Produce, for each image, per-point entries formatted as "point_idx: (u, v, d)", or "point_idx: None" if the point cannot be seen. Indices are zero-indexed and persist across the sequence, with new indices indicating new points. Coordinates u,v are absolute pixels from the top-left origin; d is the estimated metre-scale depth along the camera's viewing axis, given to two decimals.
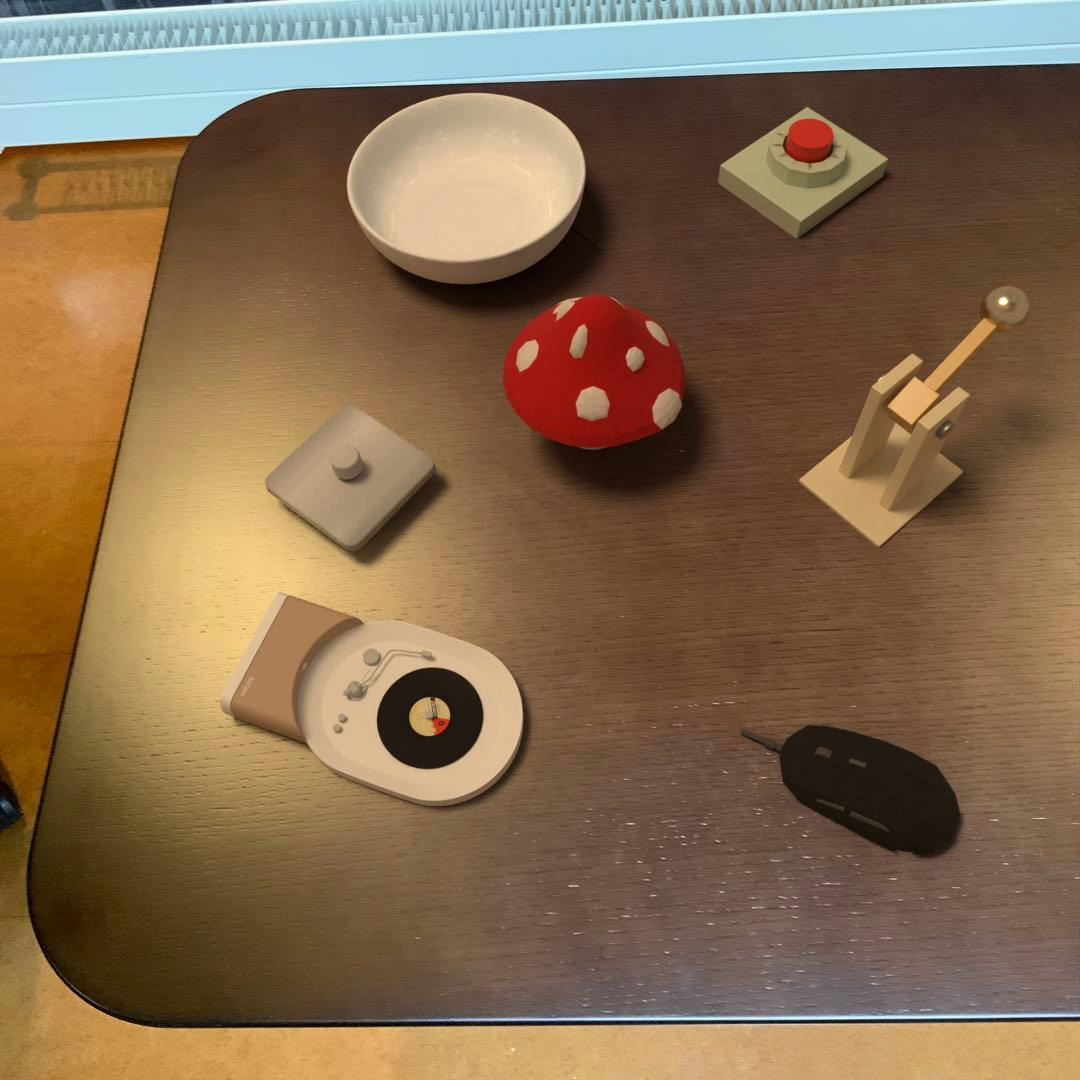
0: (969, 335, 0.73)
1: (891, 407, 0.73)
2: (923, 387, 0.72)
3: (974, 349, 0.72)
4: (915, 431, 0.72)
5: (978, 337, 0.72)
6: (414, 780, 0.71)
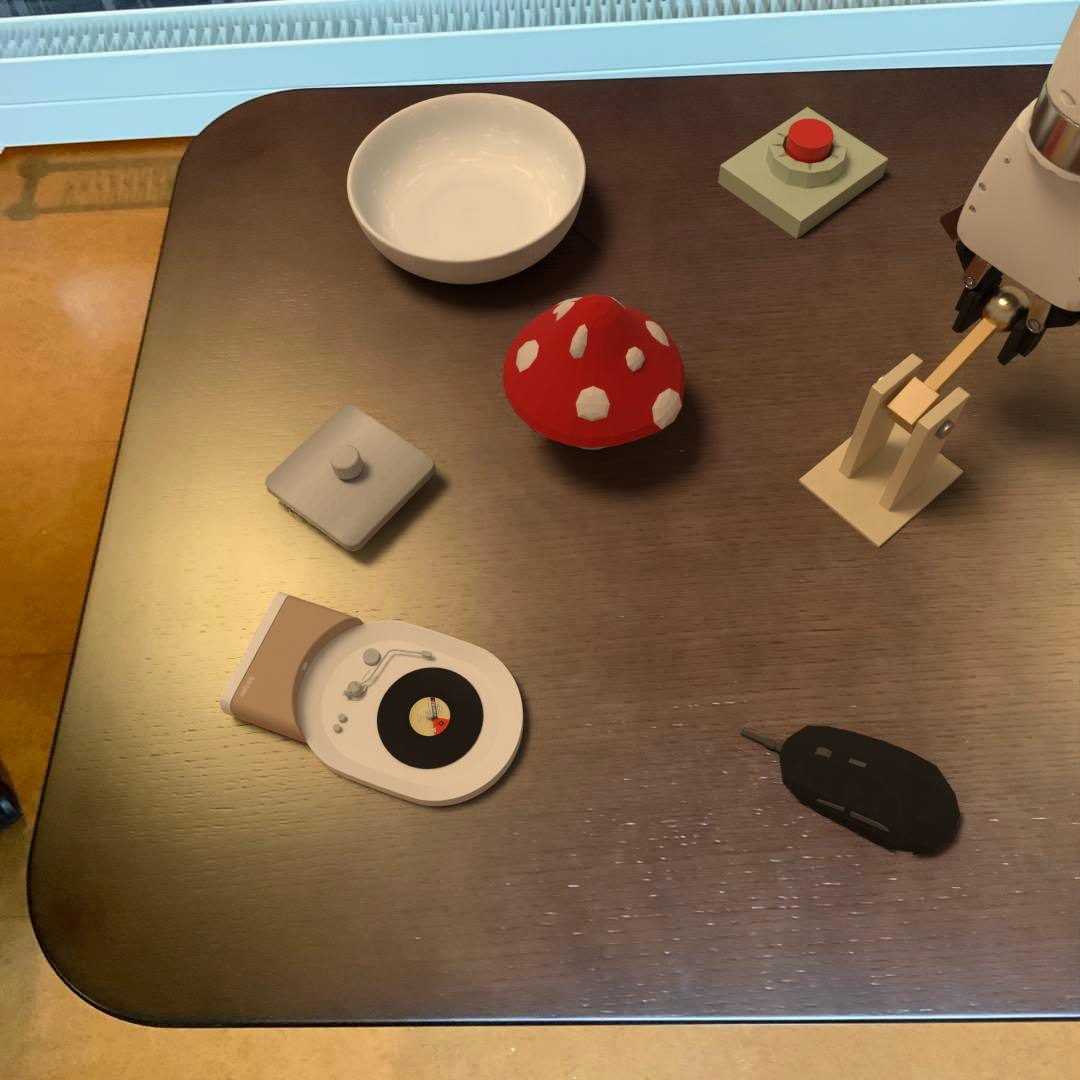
0: (969, 335, 0.73)
1: (891, 407, 0.73)
2: (923, 387, 0.72)
3: (974, 349, 0.72)
4: (915, 431, 0.72)
5: (978, 337, 0.72)
6: (414, 780, 0.71)
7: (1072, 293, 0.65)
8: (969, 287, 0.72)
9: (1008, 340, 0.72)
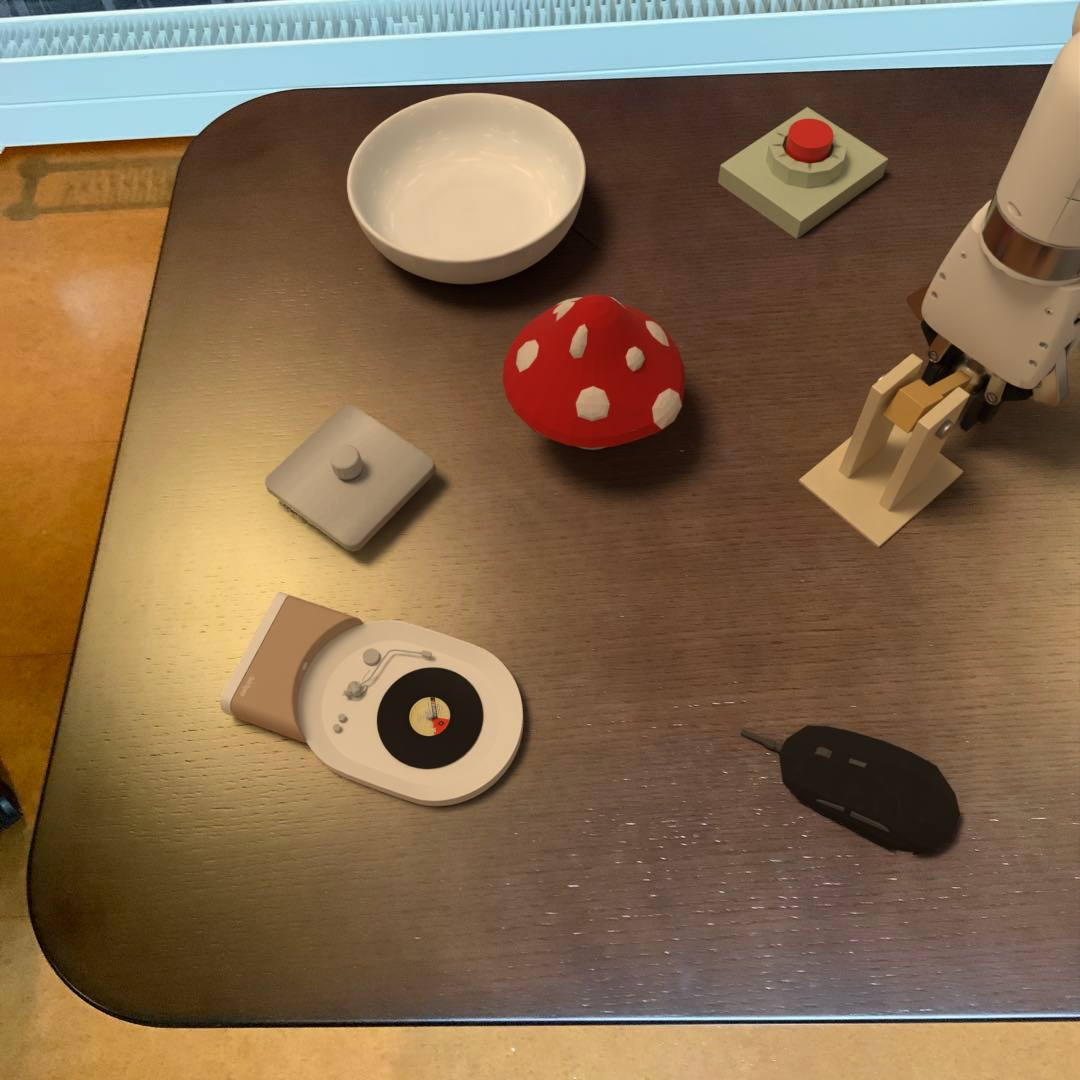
0: (952, 375, 0.77)
1: (904, 390, 0.72)
2: (928, 387, 0.73)
3: (958, 385, 0.76)
4: (915, 431, 0.72)
5: (959, 379, 0.77)
6: (414, 780, 0.71)
7: (1024, 373, 0.72)
8: (933, 361, 0.79)
9: (969, 410, 0.79)
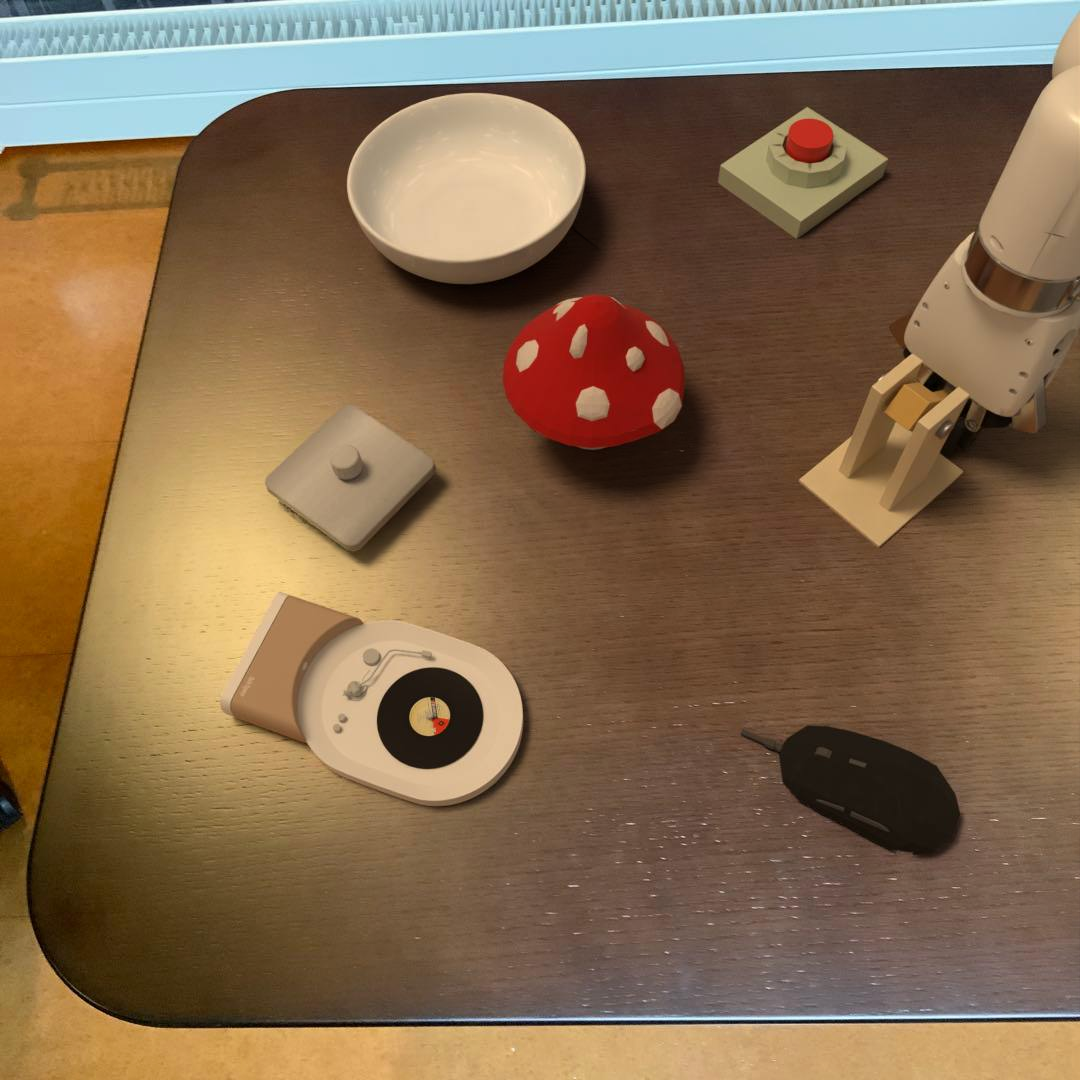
0: (941, 391, 0.78)
1: (908, 386, 0.72)
2: (928, 390, 0.74)
3: None
4: (915, 431, 0.72)
5: None
6: (414, 780, 0.71)
7: (1004, 402, 0.73)
8: None
9: (949, 436, 0.80)
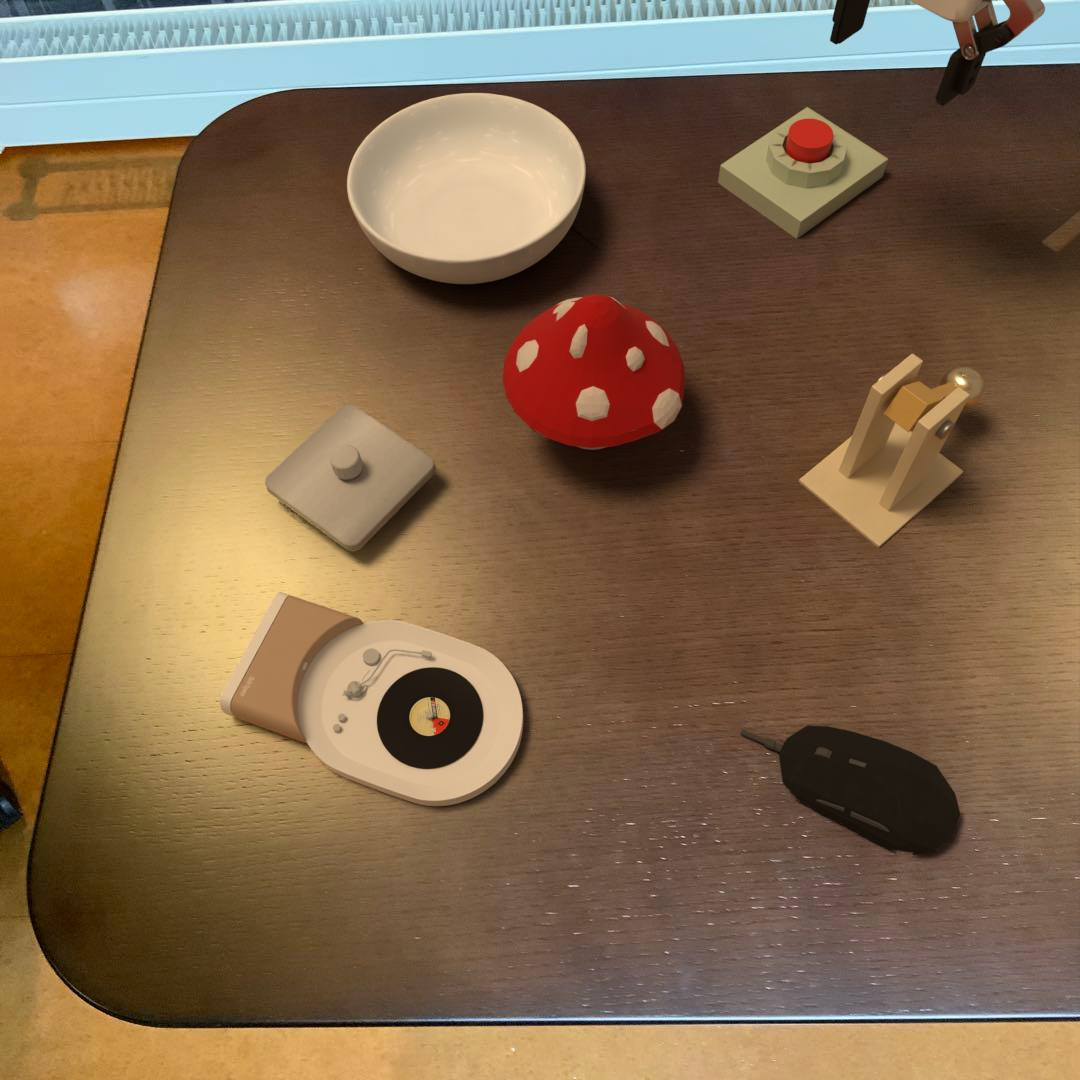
0: (946, 384, 0.78)
1: (906, 388, 0.72)
2: (928, 389, 0.74)
3: None
4: (915, 431, 0.72)
5: (953, 388, 0.78)
6: (414, 780, 0.71)
7: None
8: None
9: (945, 74, 0.74)
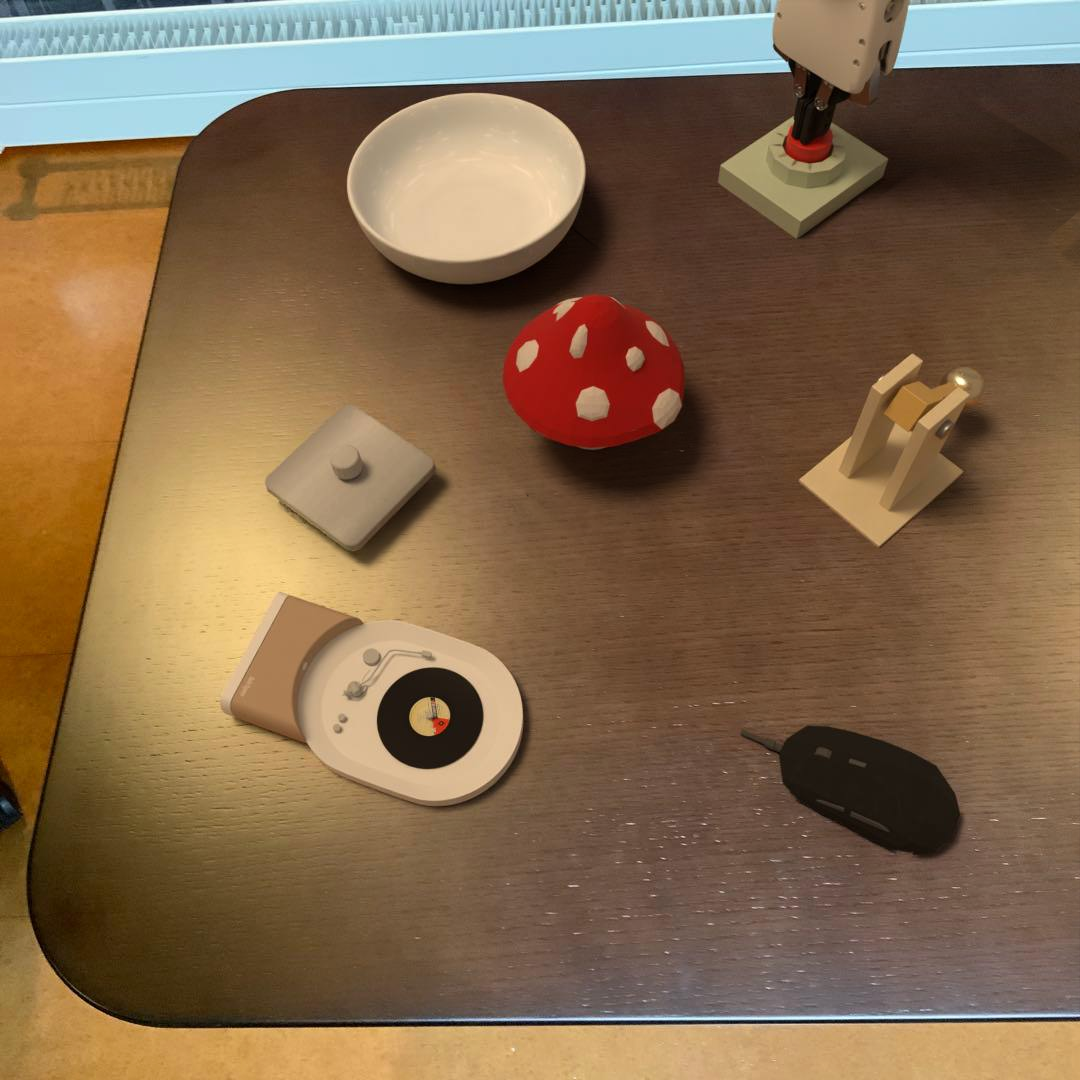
0: (946, 384, 0.78)
1: (906, 388, 0.72)
2: (928, 389, 0.74)
3: None
4: (915, 431, 0.72)
5: (953, 388, 0.78)
6: (414, 780, 0.71)
7: (851, 76, 0.85)
8: (799, 96, 0.91)
9: (804, 121, 0.92)
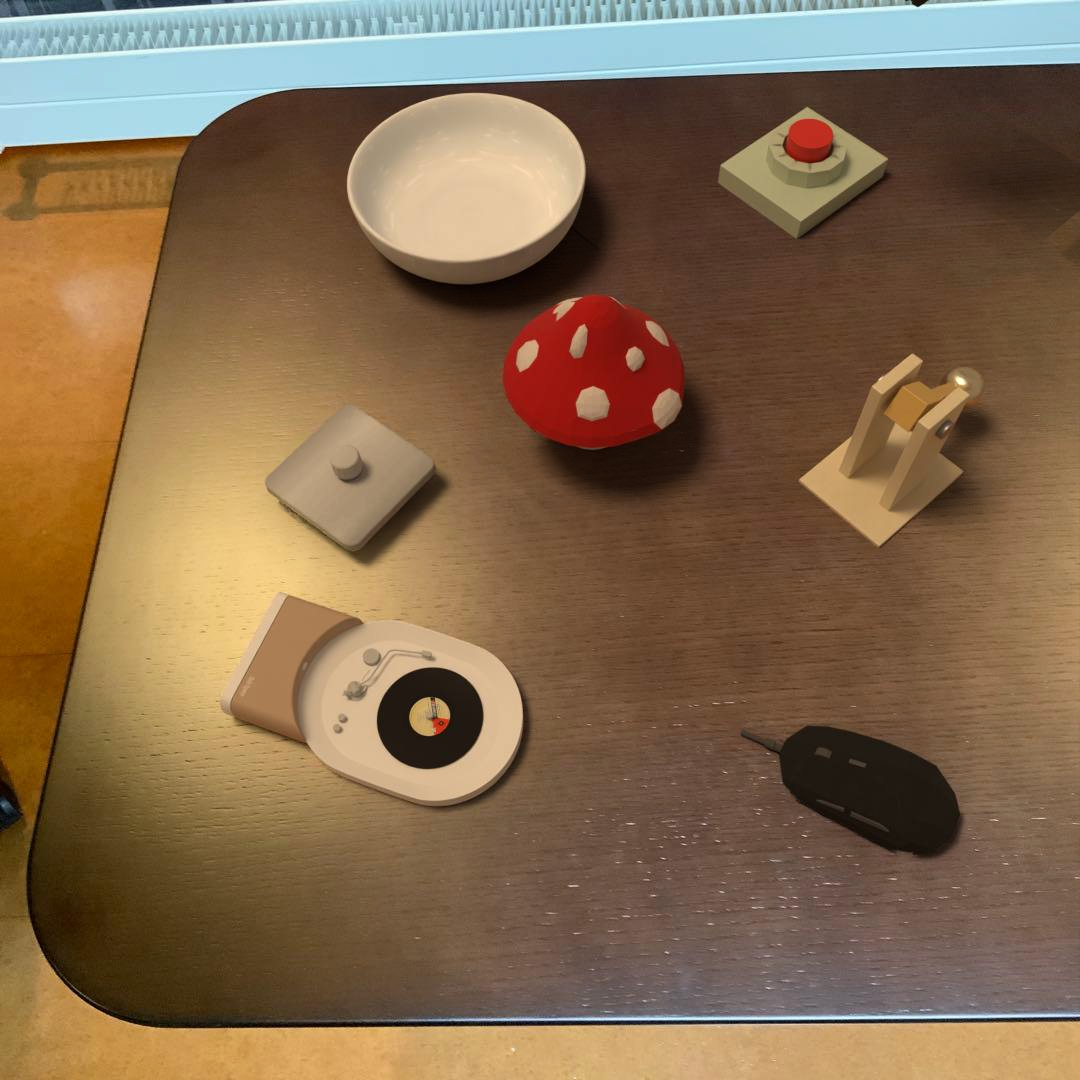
0: (946, 384, 0.78)
1: (906, 388, 0.72)
2: (928, 389, 0.74)
3: None
4: (915, 431, 0.72)
5: (953, 388, 0.78)
6: (414, 780, 0.71)
7: None
8: None
9: None
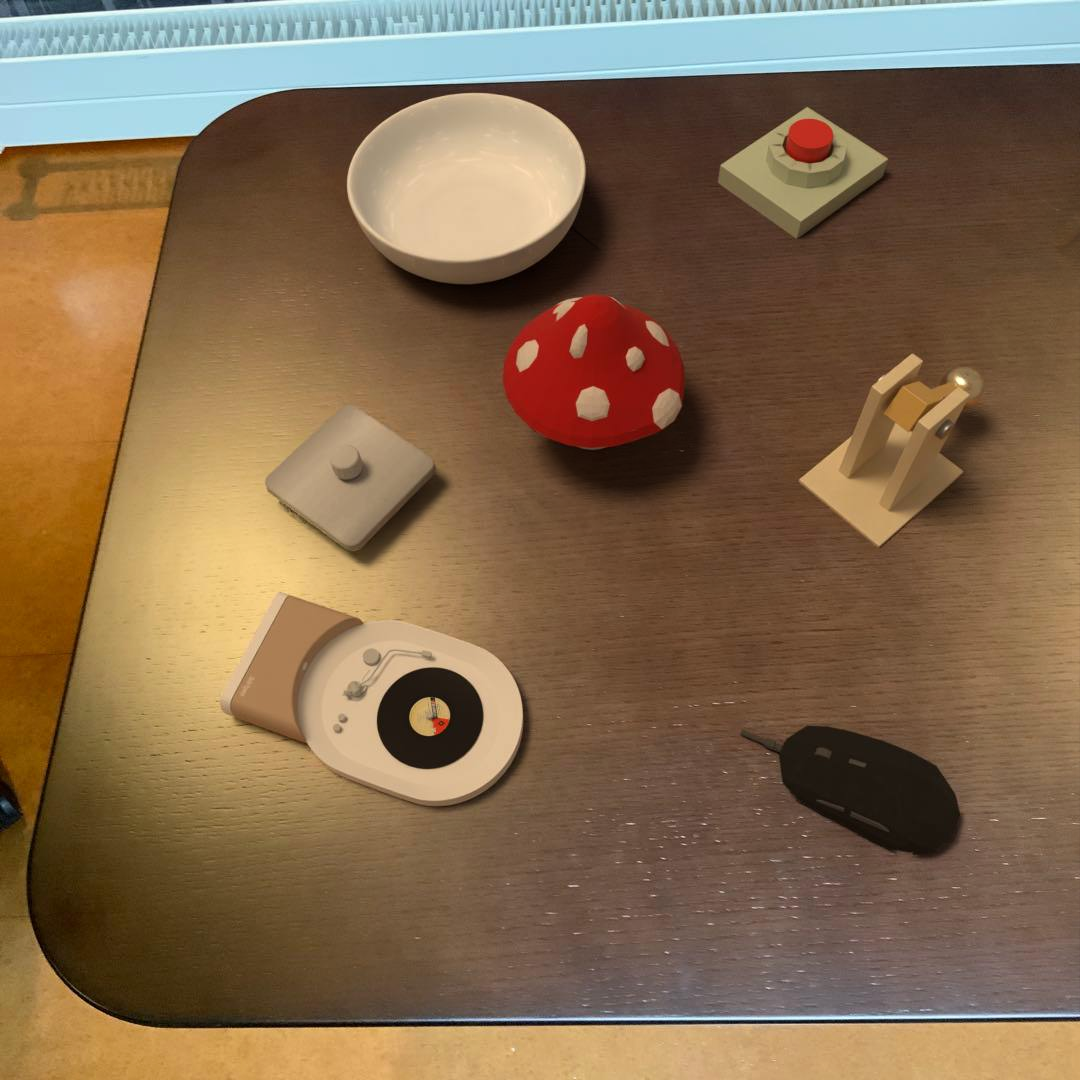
0: (946, 384, 0.78)
1: (906, 388, 0.72)
2: (928, 389, 0.74)
3: None
4: (915, 431, 0.72)
5: (953, 388, 0.78)
6: (414, 780, 0.71)
7: None
8: None
9: None
